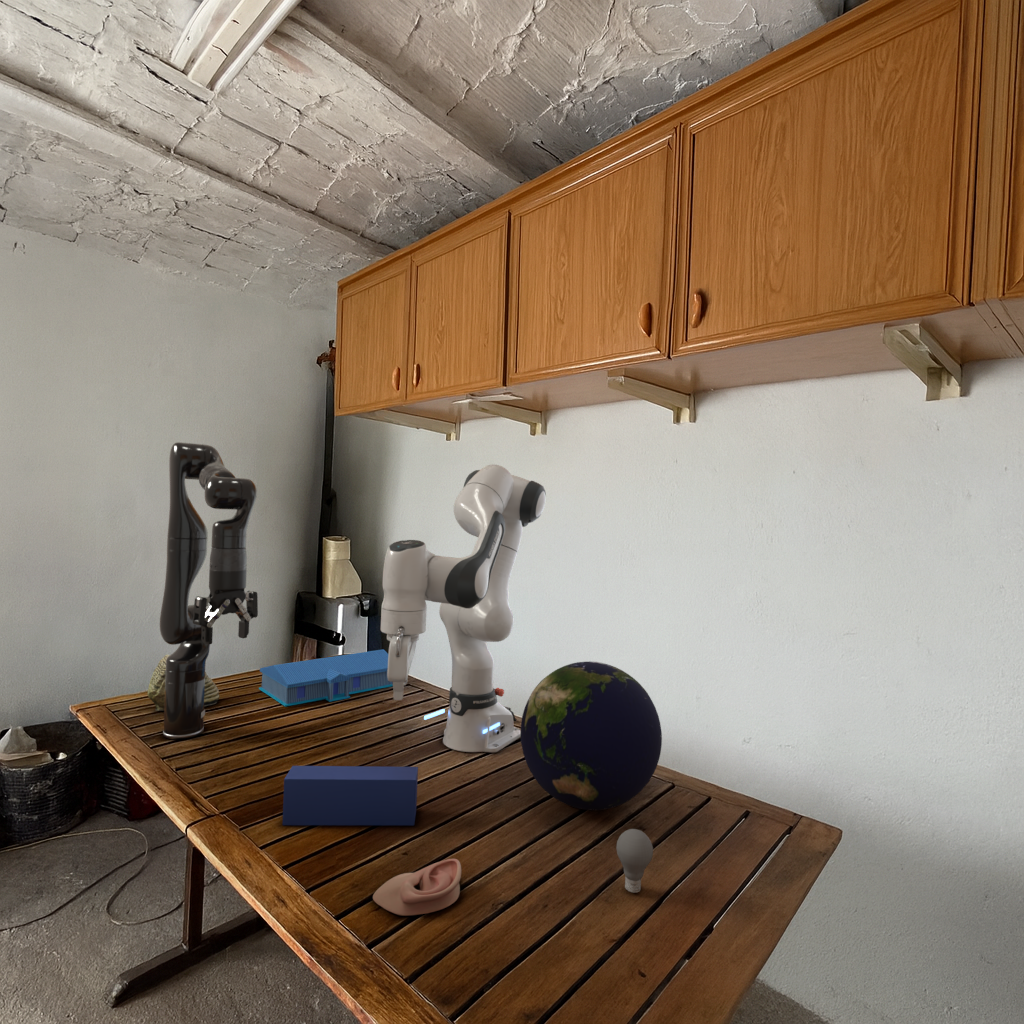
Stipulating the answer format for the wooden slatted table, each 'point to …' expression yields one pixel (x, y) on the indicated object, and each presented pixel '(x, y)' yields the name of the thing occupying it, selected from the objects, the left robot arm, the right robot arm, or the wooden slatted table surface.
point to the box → (350, 795)
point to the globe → (591, 735)
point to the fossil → (158, 687)
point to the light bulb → (634, 857)
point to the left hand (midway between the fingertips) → (225, 640)
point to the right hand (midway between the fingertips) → (400, 691)
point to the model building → (326, 677)
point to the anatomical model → (421, 889)
